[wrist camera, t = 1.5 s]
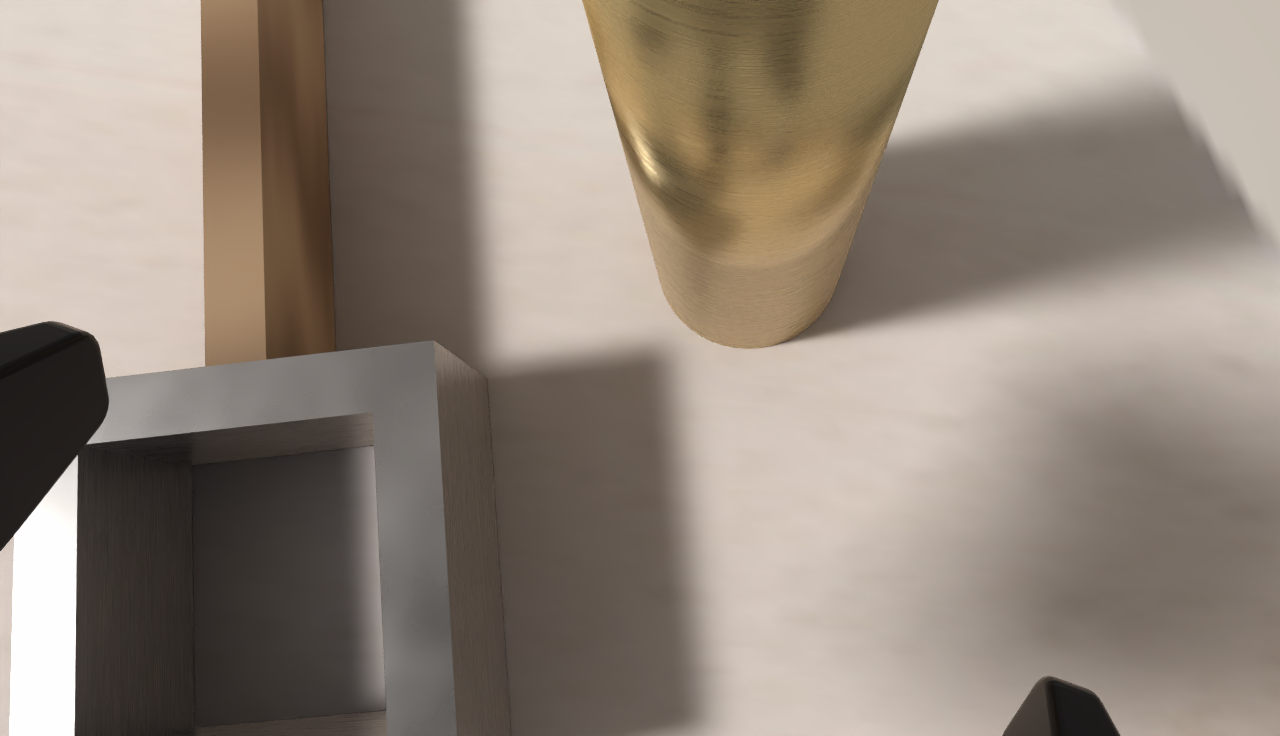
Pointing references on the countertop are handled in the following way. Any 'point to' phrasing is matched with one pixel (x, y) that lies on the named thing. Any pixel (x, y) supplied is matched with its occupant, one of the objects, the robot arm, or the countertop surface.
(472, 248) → the countertop surface
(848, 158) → the hinge pin
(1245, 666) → the countertop surface
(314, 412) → the gray square planter
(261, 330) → the hinge leaves
